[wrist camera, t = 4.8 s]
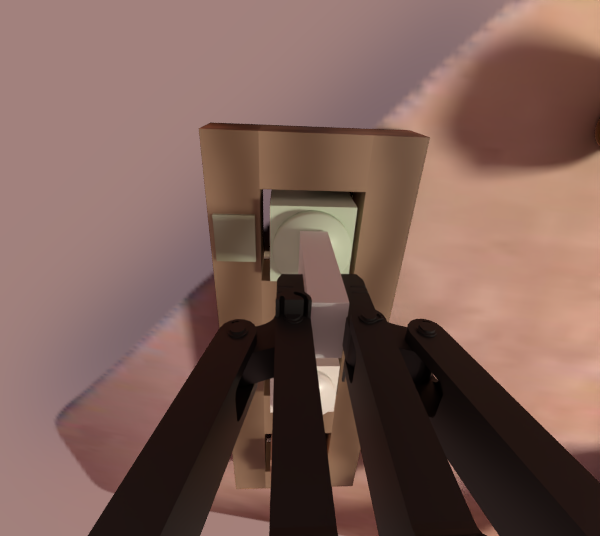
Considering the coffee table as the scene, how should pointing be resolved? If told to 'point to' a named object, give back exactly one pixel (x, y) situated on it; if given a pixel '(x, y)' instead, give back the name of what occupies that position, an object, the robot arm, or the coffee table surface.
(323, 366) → the ivory button
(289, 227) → the sage button
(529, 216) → the coffee table surface
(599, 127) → the cup
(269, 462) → the walnut panel
